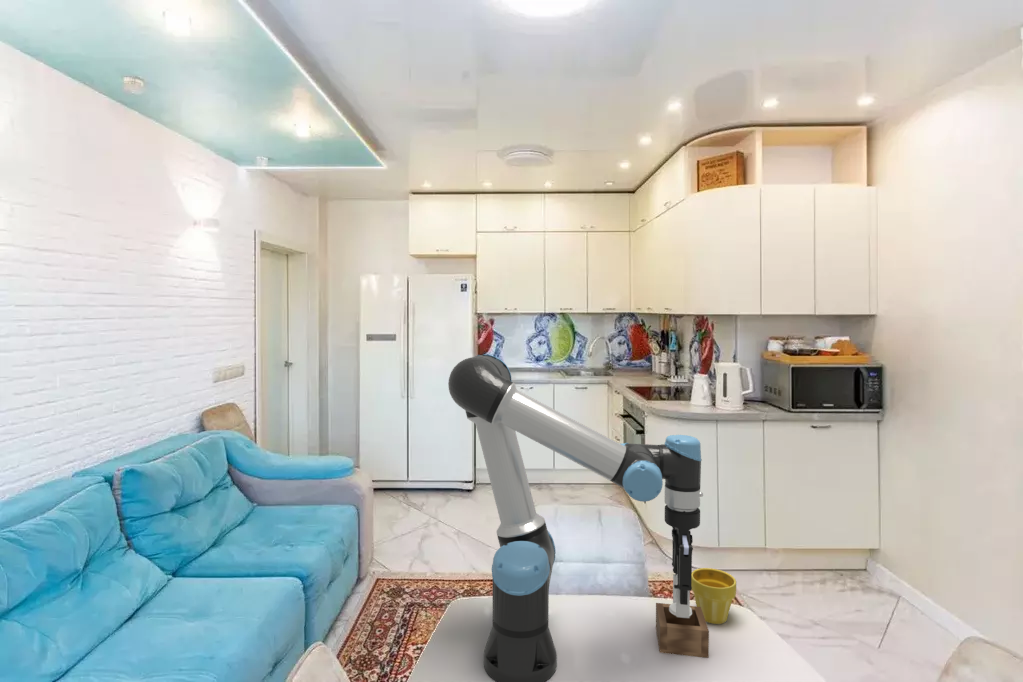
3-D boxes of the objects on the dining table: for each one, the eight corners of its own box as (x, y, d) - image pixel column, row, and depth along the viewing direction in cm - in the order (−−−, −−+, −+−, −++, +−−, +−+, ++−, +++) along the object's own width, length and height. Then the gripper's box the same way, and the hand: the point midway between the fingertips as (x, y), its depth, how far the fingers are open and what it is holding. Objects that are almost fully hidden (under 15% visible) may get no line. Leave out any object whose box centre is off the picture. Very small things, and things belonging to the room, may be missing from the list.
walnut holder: (659, 653, 116) (660, 626, 116) (655, 628, 126) (655, 602, 125) (708, 658, 114) (708, 631, 114) (700, 632, 124) (700, 606, 124)
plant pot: (740, 631, 124) (740, 589, 124) (693, 626, 126) (693, 585, 126) (731, 608, 134) (731, 569, 134) (687, 604, 136) (688, 565, 136)
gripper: (707, 521, 110) (705, 634, 110) (693, 494, 127) (692, 592, 128) (669, 519, 111) (668, 630, 111) (660, 493, 128) (659, 589, 129)
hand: (680, 609), depth 120 cm, fingers closed on chess piece, 5 cm apart
